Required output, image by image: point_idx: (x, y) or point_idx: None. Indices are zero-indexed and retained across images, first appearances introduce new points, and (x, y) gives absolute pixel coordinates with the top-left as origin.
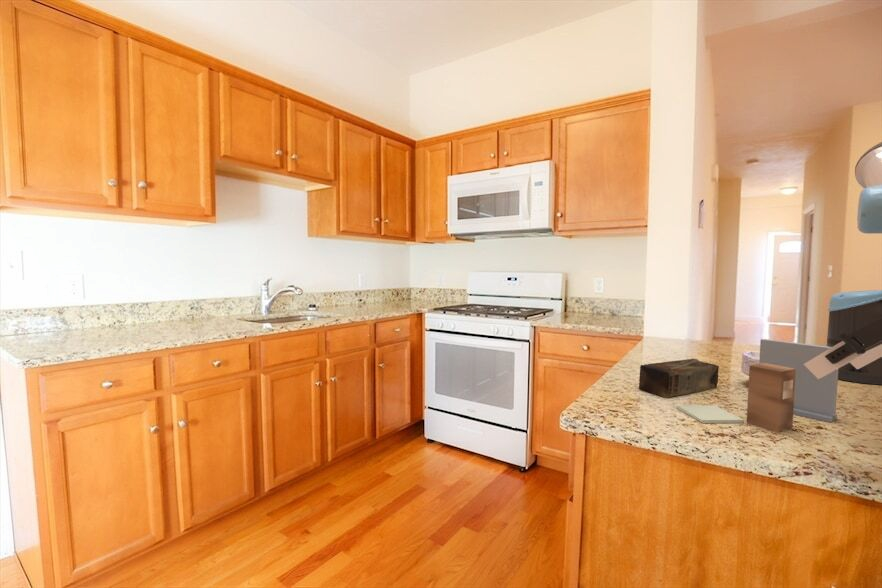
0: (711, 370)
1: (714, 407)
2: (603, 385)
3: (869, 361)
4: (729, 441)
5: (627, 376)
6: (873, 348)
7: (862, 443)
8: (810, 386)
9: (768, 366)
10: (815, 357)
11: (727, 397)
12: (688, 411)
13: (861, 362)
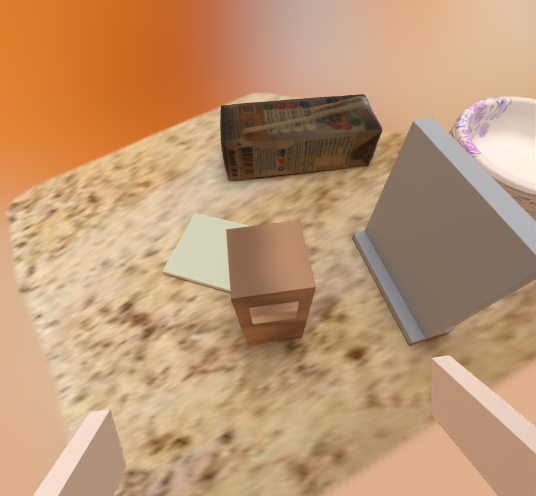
0: (356, 138)
1: None
2: (191, 123)
3: (469, 459)
4: (117, 346)
5: None
6: (525, 480)
7: (356, 446)
8: (428, 277)
9: (264, 248)
10: (58, 462)
11: (338, 201)
12: (184, 236)
13: (451, 427)
